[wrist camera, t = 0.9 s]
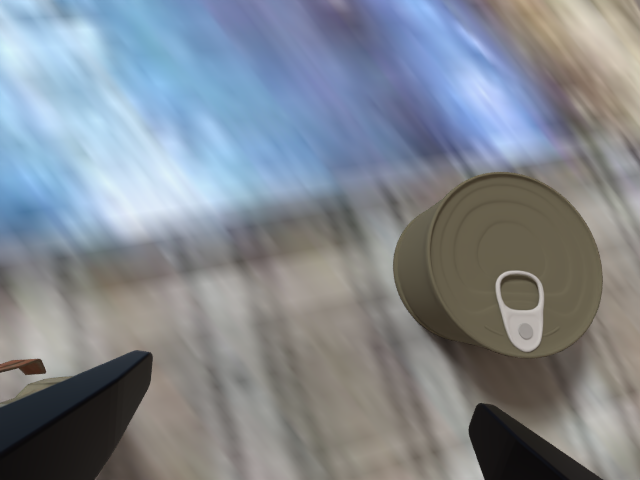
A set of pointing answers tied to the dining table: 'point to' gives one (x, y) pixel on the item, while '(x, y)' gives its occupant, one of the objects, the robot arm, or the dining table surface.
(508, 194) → the can
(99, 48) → the dining table surface
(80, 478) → the robot arm
